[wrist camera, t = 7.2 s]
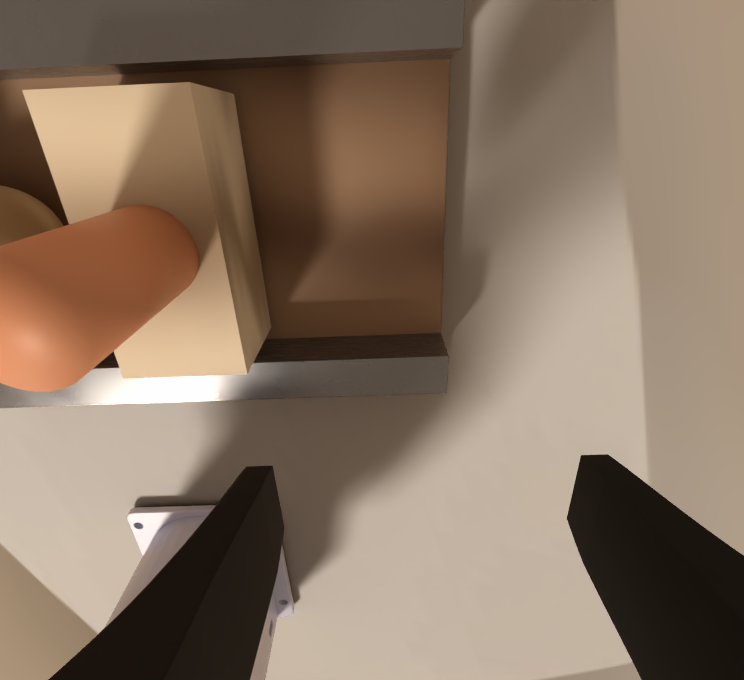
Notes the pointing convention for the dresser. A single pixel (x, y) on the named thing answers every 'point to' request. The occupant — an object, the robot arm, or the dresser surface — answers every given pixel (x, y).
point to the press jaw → (136, 241)
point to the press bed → (274, 173)
